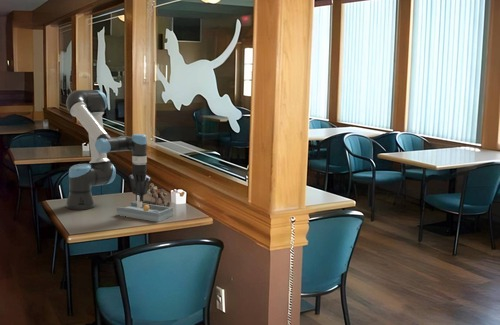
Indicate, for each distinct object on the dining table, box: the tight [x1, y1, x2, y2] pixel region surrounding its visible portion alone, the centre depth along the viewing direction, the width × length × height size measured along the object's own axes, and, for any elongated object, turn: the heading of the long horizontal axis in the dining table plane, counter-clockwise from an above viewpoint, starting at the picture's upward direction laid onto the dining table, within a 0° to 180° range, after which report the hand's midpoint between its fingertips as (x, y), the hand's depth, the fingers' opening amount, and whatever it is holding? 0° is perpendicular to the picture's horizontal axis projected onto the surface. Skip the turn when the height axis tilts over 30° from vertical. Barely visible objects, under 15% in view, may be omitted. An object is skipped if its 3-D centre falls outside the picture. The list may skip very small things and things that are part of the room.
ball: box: [143, 205, 149, 211], centre depth 309 cm, size 3×3×3 cm
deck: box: [116, 201, 174, 223], centre depth 310 cm, size 26×14×4 cm, turn 67°
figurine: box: [147, 182, 170, 207], centre depth 336 cm, size 11×10×30 cm
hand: (139, 207), depth 311 cm, fingers closed
